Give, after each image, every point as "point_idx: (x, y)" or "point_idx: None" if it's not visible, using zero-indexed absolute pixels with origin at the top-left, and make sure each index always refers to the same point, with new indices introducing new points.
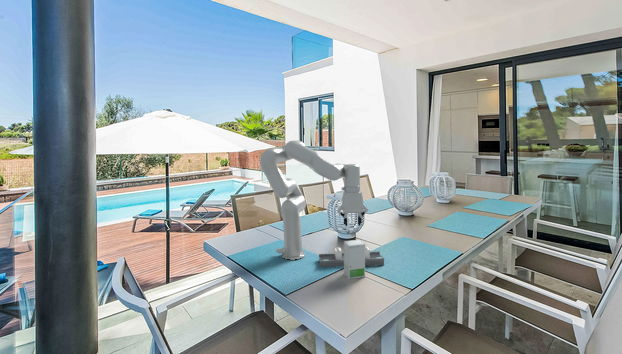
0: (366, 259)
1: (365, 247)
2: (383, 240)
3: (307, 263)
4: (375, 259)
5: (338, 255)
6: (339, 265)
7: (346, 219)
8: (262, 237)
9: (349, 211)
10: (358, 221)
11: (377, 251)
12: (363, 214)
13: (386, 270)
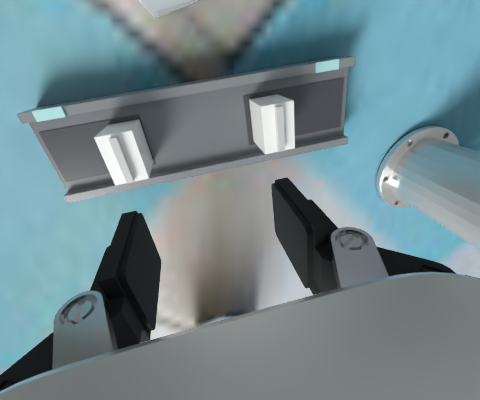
0: (120, 96)
1: (123, 157)
2: None
3: (379, 100)
4: (70, 104)
5: (271, 100)
6: (256, 70)
7: (313, 219)
8: None
9: (357, 324)
10: (145, 259)
11: (76, 199)
12: (22, 368)
13: (4, 33)
